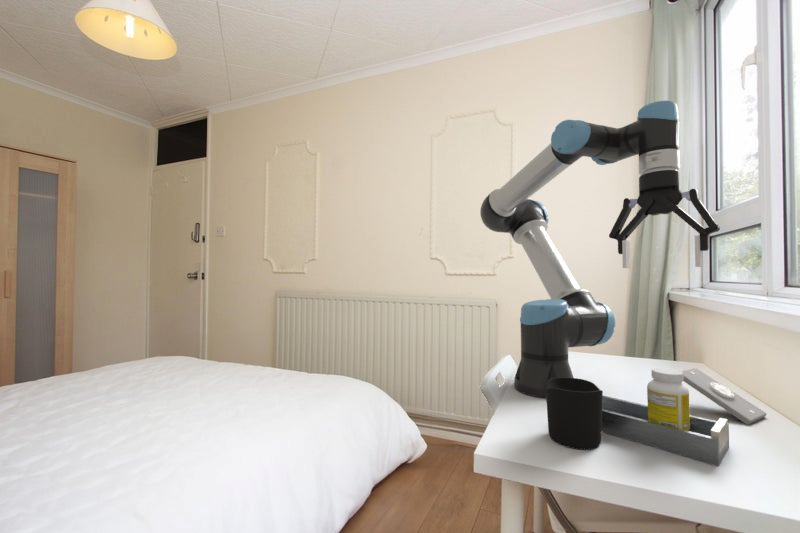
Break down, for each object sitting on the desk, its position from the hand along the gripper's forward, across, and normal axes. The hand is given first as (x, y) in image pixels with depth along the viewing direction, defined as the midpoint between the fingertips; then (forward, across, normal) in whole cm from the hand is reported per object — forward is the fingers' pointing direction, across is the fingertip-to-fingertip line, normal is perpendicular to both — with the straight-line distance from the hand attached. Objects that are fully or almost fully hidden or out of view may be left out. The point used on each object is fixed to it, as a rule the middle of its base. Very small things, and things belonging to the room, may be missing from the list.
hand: (660, 267), depth 83 cm
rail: (+32, +2, -17) cm, 36 cm away
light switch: (+32, +8, +9) cm, 34 cm away
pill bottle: (+30, +5, -17) cm, 35 cm away
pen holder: (+32, -7, -29) cm, 44 cm away
